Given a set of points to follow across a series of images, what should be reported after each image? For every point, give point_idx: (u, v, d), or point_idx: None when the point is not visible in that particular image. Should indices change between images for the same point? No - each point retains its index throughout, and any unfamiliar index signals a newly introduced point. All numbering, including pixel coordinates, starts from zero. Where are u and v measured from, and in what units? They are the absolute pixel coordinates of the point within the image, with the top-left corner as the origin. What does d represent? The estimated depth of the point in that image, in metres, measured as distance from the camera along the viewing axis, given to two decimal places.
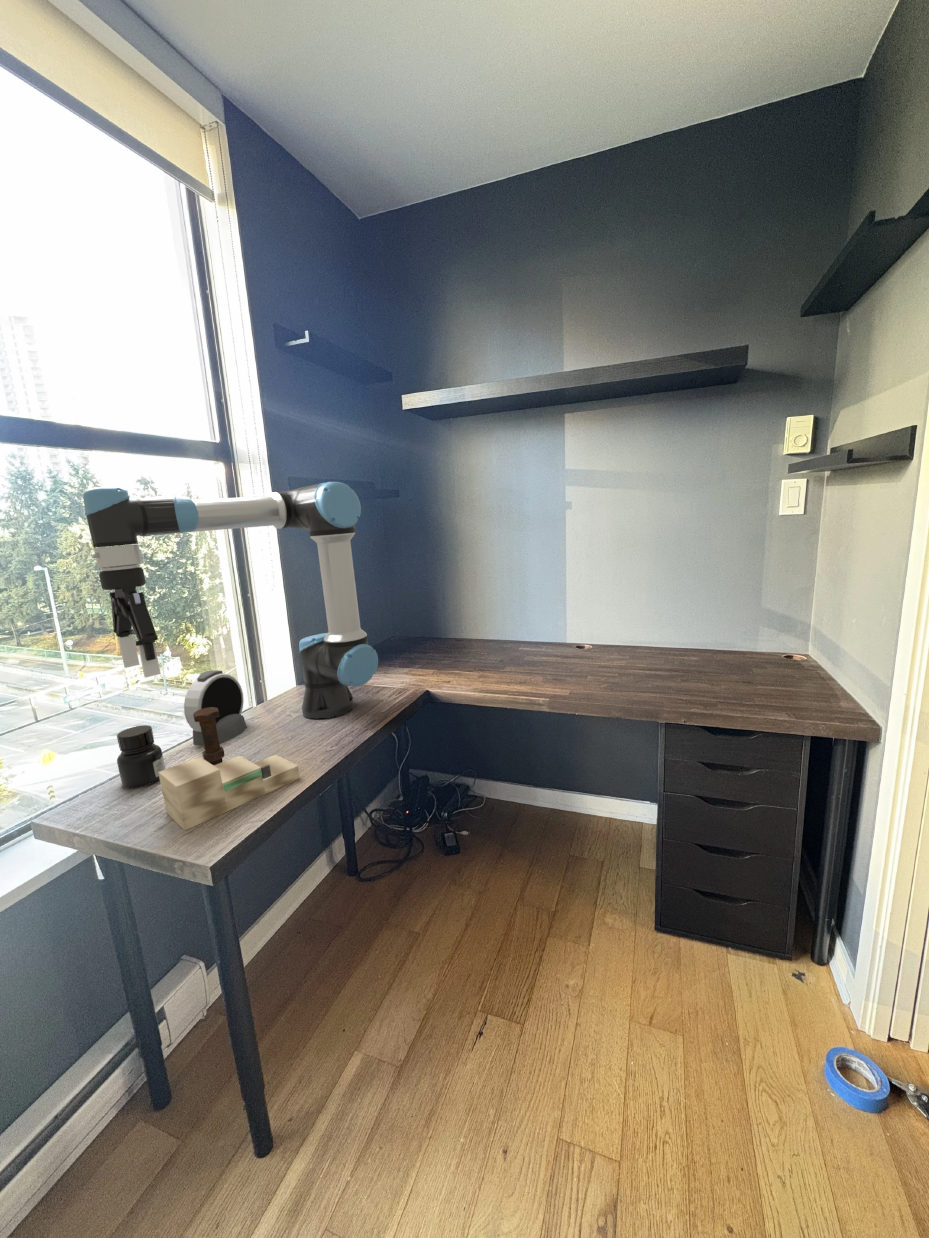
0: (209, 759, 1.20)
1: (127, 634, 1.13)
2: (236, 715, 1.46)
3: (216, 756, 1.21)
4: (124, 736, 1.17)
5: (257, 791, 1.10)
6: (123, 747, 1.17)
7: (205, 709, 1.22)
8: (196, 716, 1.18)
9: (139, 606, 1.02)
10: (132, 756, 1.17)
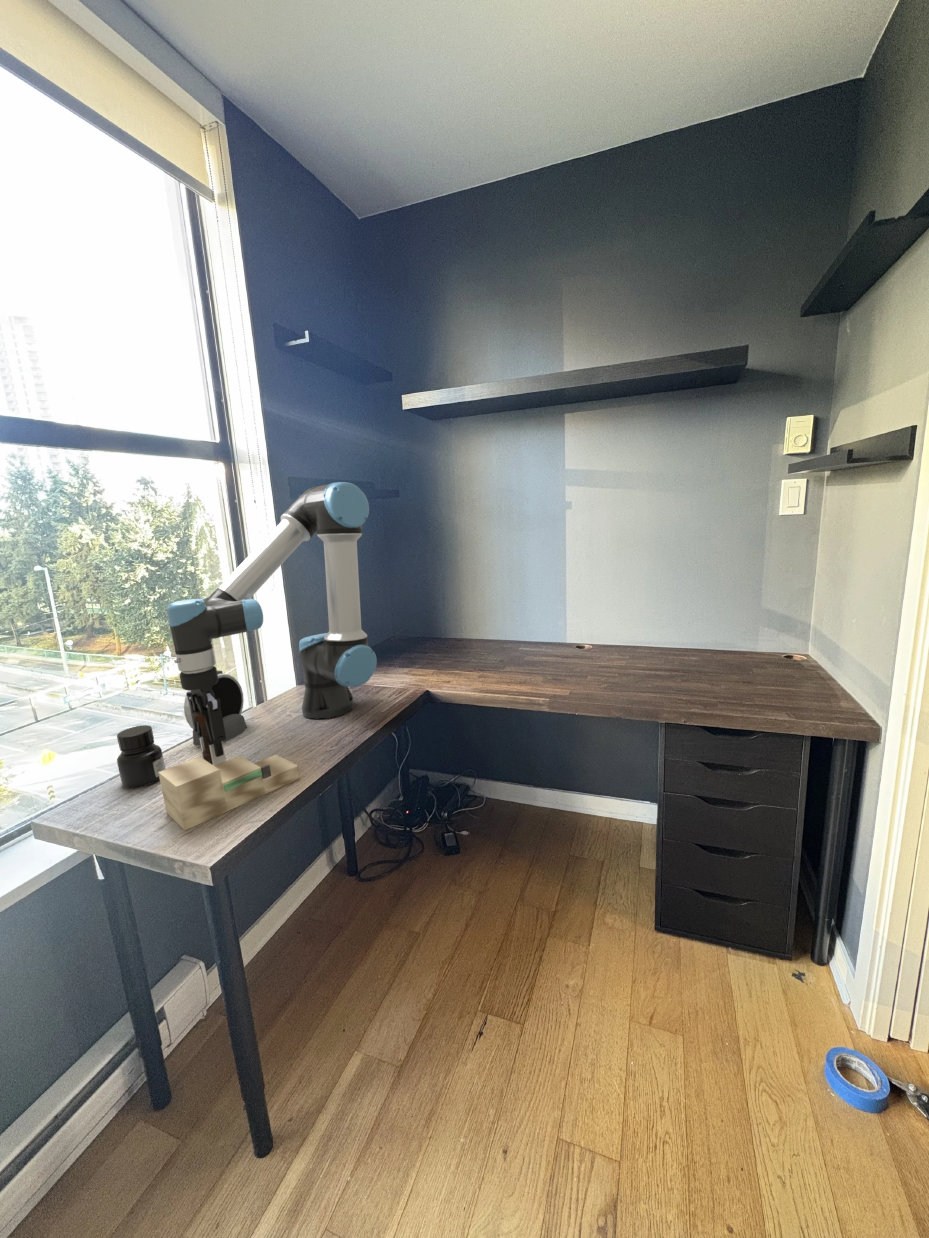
0: (209, 759, 1.20)
1: None
2: (236, 715, 1.46)
3: None
4: (124, 736, 1.17)
5: (257, 791, 1.10)
6: (123, 747, 1.17)
7: None
8: (196, 716, 1.18)
9: (215, 712, 1.16)
10: (132, 756, 1.17)
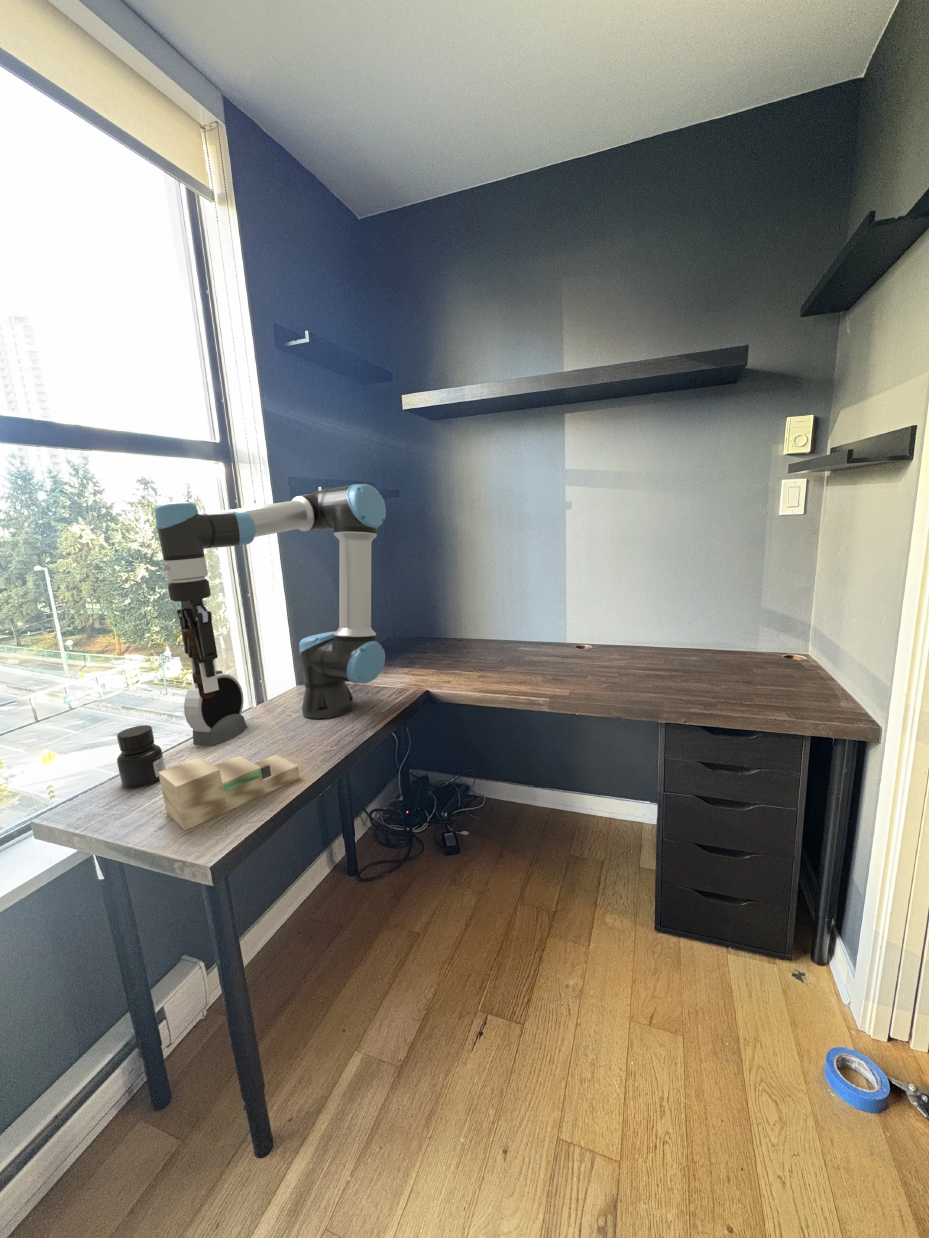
0: (199, 681, 1.10)
1: None
2: (236, 715, 1.46)
3: None
4: (124, 736, 1.17)
5: (257, 791, 1.10)
6: (123, 747, 1.17)
7: None
8: (185, 631, 1.08)
9: (206, 625, 1.06)
10: (132, 756, 1.17)
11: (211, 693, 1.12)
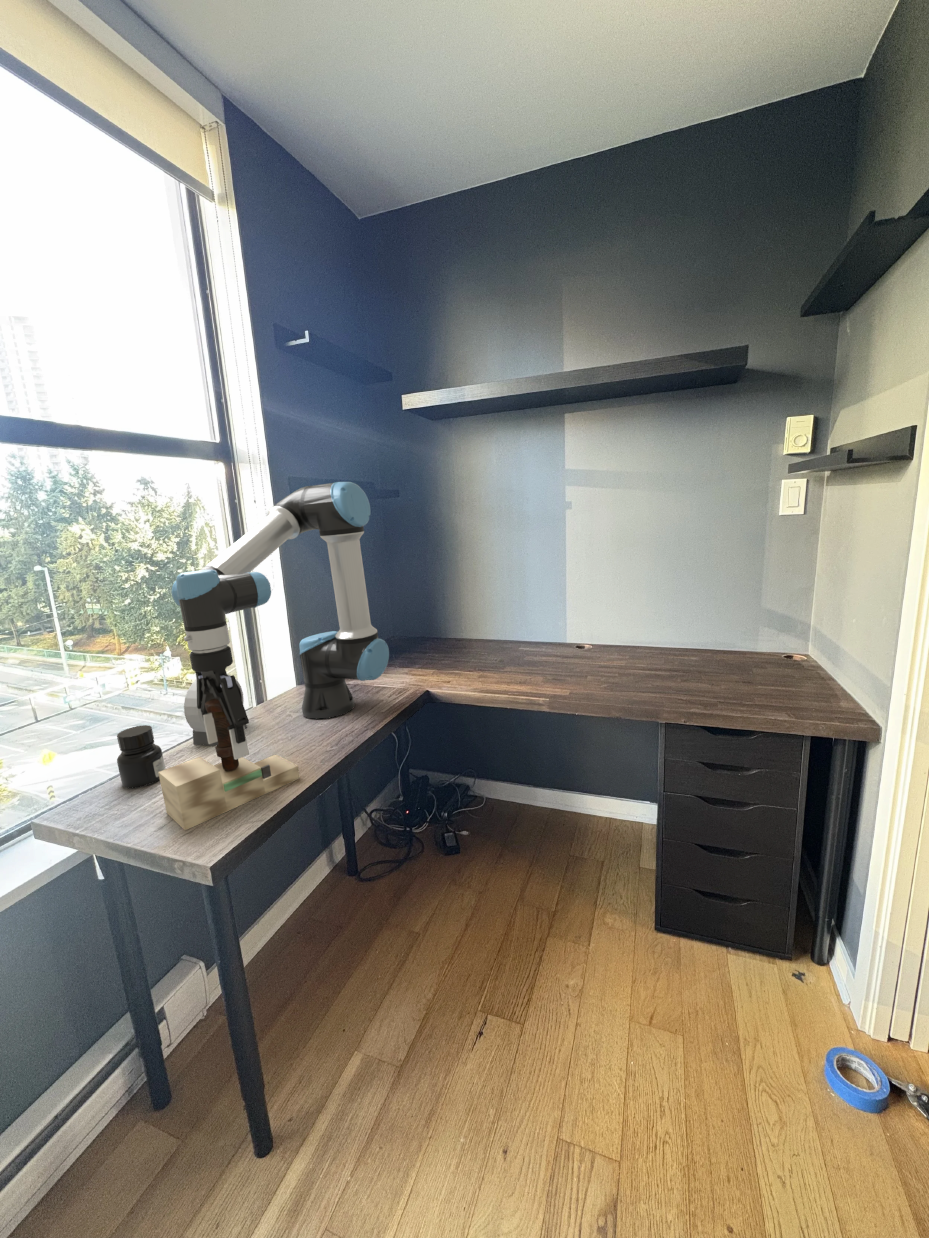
0: (223, 755, 1.08)
1: None
2: None
3: (231, 751, 1.08)
4: (124, 736, 1.17)
5: (257, 791, 1.10)
6: (123, 747, 1.17)
7: None
8: (209, 706, 1.05)
9: (231, 690, 1.02)
10: (132, 756, 1.17)
11: (235, 766, 1.10)
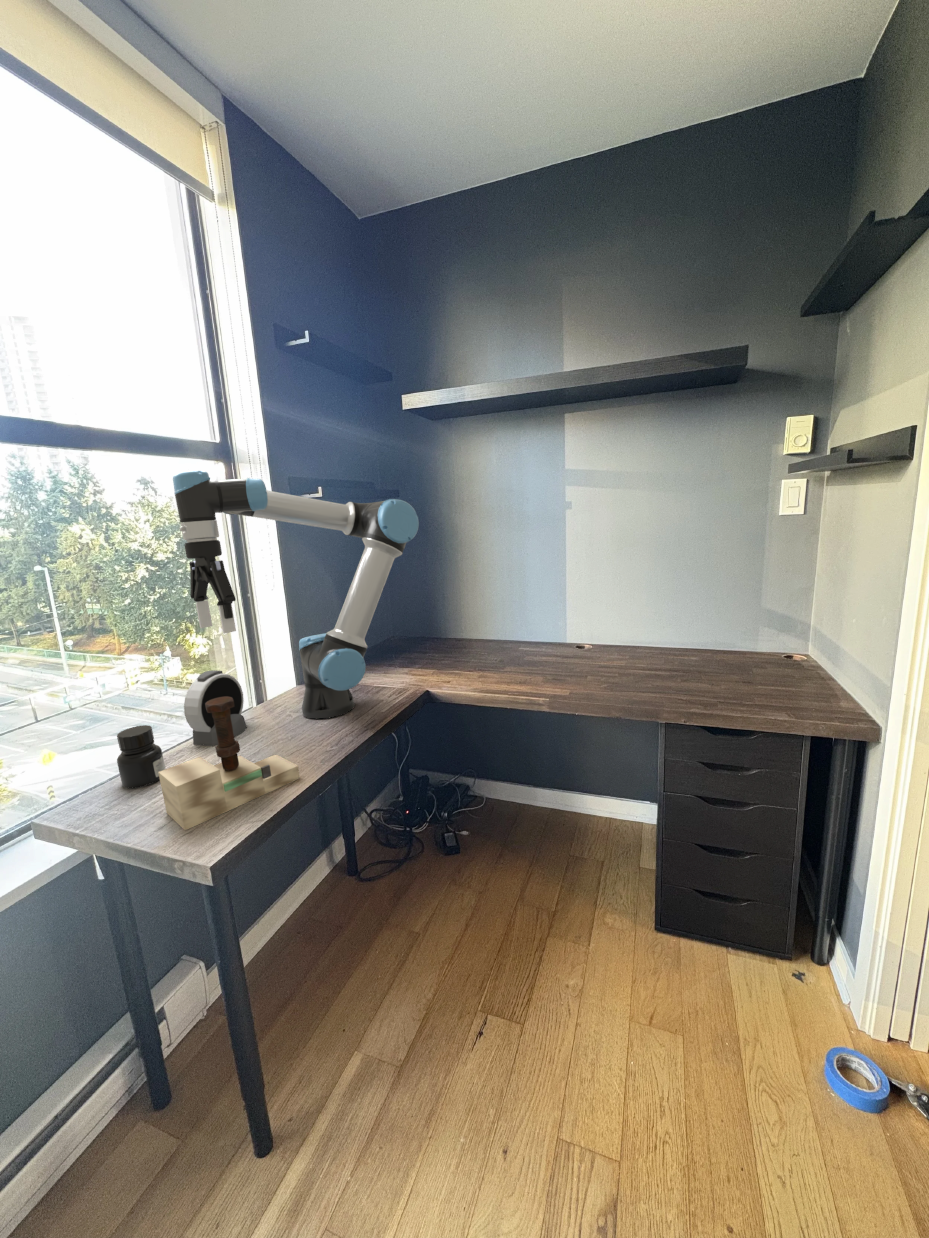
0: (223, 755, 1.08)
1: (202, 599, 1.31)
2: (236, 715, 1.46)
3: (231, 751, 1.08)
4: (124, 736, 1.17)
5: (257, 791, 1.10)
6: (123, 747, 1.17)
7: (219, 698, 1.09)
8: (209, 706, 1.05)
9: (220, 572, 1.19)
10: (132, 756, 1.17)
11: (235, 766, 1.10)
